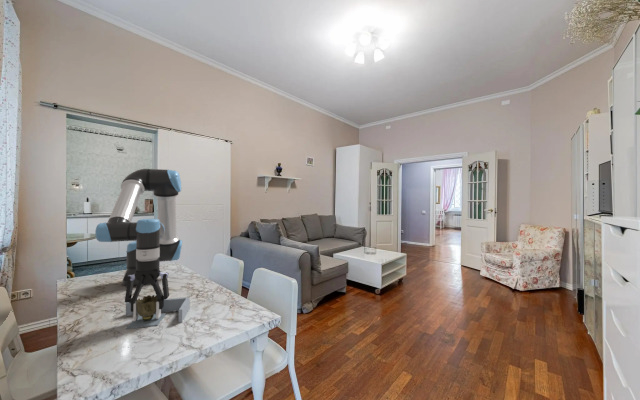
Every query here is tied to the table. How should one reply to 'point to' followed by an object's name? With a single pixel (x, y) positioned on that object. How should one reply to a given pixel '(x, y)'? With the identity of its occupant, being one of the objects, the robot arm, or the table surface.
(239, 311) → the table surface
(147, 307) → the cup
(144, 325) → the mat
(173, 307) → the fence
